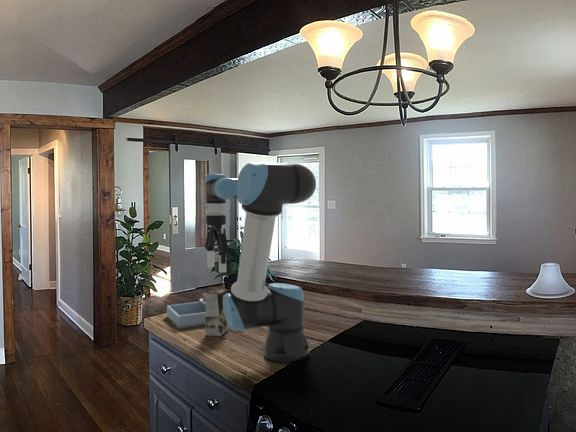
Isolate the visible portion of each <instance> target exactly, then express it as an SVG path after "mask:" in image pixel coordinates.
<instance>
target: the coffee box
mask: <svg viewBox="0 0 576 432" xmlns="http://www.w3.org/2000/svg"><path fill="white" fill-rule="evenodd" d="M205 293H206V294H205ZM205 293H204V294H205V304H206V325H205V335H206V336H212V337H221V336H222V335H224V334H225V333H227V331H228V330H229V328H230V327H229V326H228V324H227V321H226V318H225V315H224V310H223V296H224V295H225V294H227V293H229V289H227V288H226V289H225V288H218V289H217V288H215V289H211V290H210V291H207V292H205Z"/></svg>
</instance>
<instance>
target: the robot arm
mask: <svg viewBox="0 0 576 432" xmlns="http://www.w3.org/2000/svg"><path fill="white" fill-rule="evenodd" d="M204 185H205V206H204V209H205V214H207V215H205V224H206V225H207V227H206V229H207V232H206V238H205V243H204V244H205V246H204V249H206V255H207V259H206V260H207V261H206V263H207V265H206V267H207V268H215V251H216V248H215V245H217V249H218V254H217V255H218V273H221V274H222V273H223V274H224V273H227V269H228V268H227V255H228V254H229V253H230V251H229V250H230V249H229V246H228V245H229V244H228V240H227V235H226V228H225V227H222V226H225V225H227V216H226V215H225V214H226V213H227V201H226V200H237V201H238V202H239V204H241V209H242V210H243V211H244V212H245V219H244V227H243V235H242V242H241V249H240V255H239V264H238V272H237V280H236V281H235V282H234V283H232V285H231V288H230V293H229V292H228V293H227V294H225V295H224V296H223V310H224V315H225V318H226V321H227V324H228V326H229V328H230V330H232V331H233V332H234V331H247V330H252V329H259V328H265V327H268V333H267V336H266V339H265V343H264V346H263V357H264V358H265V359H267V360H269V361H272V362H273V361H274V362H276V363H278V362H279V363H293V362H292V361H295V360H297V359H299V358H301V357H303V356H305V355H307V354H308V353H309V354H310V345H309V343H308V339H307V337H306V333H305V326H304V325H305V296H304V290H303V288H302V287H301V286H298V285H294V284H289V283H282V282H281V283H280V282H273V283H269V284H268V286H267V285H266V279H267V273H268V266H269V262H270V261H269V260H270V255H271V249H272V248H271V247H272V241H273V235H274V229H275V222H276V218H277V217H278V216H279V215H281V214H282V212H283V206H284V205H291V204H293V205H294V204H300V203H304V202H305V201H307V200H309V199H310V198H311V197H313V195H314V193H315V191H316V187H317V182H316V178H315V174H314V173H313V171H311V170H310V169H309V168H308V167H307V166H304V165H302V164H299V163H293V162H291V163H288V162H287V163H285V162H282V163H281V162H267V161H265V162H264V161H258V162H248V163H246V164H245V165H244V166H243V167H242V168H241V170H240V171H239V174H238V176H237V178H234V177H233V178H230V177H226V176H225V174H224V173H223V174H222V173H211V174H210V173H208V174H206V175H205V182H204Z"/></svg>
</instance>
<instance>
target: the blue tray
mask: <svg viewBox="0 0 576 432" xmlns="http://www.w3.org/2000/svg"><path fill="white" fill-rule="evenodd" d="M167 317H168V318H169V319H170V320H171V323H172V324H173V325H174V326H175V327H176V328H177V329H179V330H180V329H181V330H182V329H186V328H187V329H188V328H192V327H193V328H194V327H200V326H206V305H205V304H203V303H202V302H200V301H193V302H187V303H186V302H185V303H177V304H170V305H166V318H167ZM168 318H167V319H168ZM169 319H168V320H169ZM170 320H169V321H170Z"/></svg>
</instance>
